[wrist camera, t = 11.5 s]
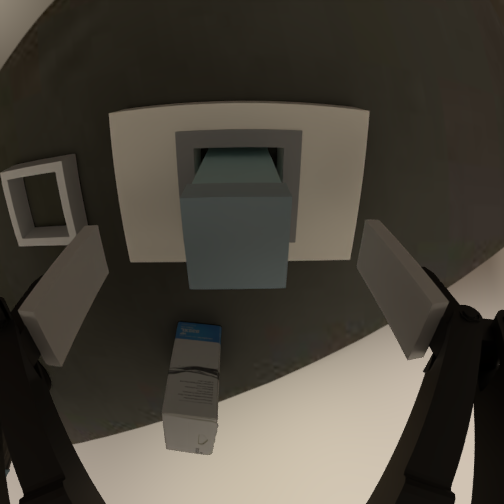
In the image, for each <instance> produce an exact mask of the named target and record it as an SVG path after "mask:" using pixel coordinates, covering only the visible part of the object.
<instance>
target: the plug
mask: <svg viewBox="0 0 504 504" xmlns="http://www.w3.org/2000/svg"><path fill="white" fill-rule="evenodd" d="M180 207H181V217H182V227H183V237H184V246H185V255H186V264H187V272H188V280H189V288H190V289H269V288H286V279H287V266H288V253H289V239H290V225H291V210H292V195H291V193H290V191H289V188H288V186H287V184H286V183H282V182H281V180H280V177H279V175H278V173H277V170H276V168H275V165H274V163H273V161H272V158H271V156H270V153H269V151H268V149H267V147H225V148H209V149H208V151H207V153H206V155H205V157H204V159H203V161H202V163H201V165H200V167H199V169H198V171H197V173H196V175H195V178H194V180H193V182H192V184H187V185H186V187H185V189H184V191H183V193H182V195H181V197H180Z"/></svg>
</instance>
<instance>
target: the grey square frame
mask: <svg viewBox="0 0 504 504" xmlns="http://www.w3.org/2000/svg"><path fill="white" fill-rule="evenodd" d="M50 172H56V178H57V183H58V188H59V193H60V198H61V203H62V208H63V212H64V216H65V221H66V225H64V226H47V227H35V226H34V223H33V219H32V215H31V211H30V207H29V203H28V199H27V194H26V190H25V185H24V180H23V177H26V176H31V175H37V174H43V173H50ZM0 175H1V180H2V185H3V189H4V194H5V198H6V202H7V206H8V210H9V214H10V217H11V221H12V225H13V228H14V231H15V235H16V238H17V241H18V244H19V246H49V245H69V243H70V242H71V241H72V240H73V239H74V238H75V236H76V235H77V234H78V233H79V232H80V231H81V230H82V228H83V227H84V226H88V222H87V218H86V213H85V208H84V203H83V198H82V192H81V187H80V181H79V175H78V169H77V162H76V155H75V154H70V155H64V156H58V157H52V158H46V159H41V160H36V161H31V162H26V163H21V164H17V165H14V166H12V167H10V168H8V169H6V170H4V171H3V172H1V173H0Z"/></svg>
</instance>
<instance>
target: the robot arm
mask: <svg viewBox="0 0 504 504" xmlns="http://www.w3.org/2000/svg"><path fill="white" fill-rule="evenodd" d="M357 269H358V271H359V272H360V274H361V276H362V278H363V279H364V281H365V283H366V284H367V286H368V288H369V290H370V291H371V293H372V295H373V297H374V298H375V300H376V302H377V304H378V306H379V307H380V309H381V311H382V313H383V315H384V316H385V318H386V320H387V322H388V324H389V326H390V327H391V329H392V331H393V333H394V335H395V337H396V339H397V341H398V342H399V344H400V346H401V348H402V350H403V352H404V354H405V356H406V358H407V360H411V359H416V358H421V357H423V356H424V355H425V353H426V351H427V349H428V347H430V348H431V350H432V352H433V354H432V356H431V358H430V360H429V361H428V363H427V365H426V367H425V369H424V371H423V372H425V376H424V379H423V382H422V384H421V387H420V390H419V393H418V396H417V398H416V401H415V404H414V406H413V409H412V411H411V414H410V417H409V419H408V421H407V424H406V426H405V428H404V431H403V433H402V436H401V438H400V440H399V442H398V445H397V447H396V449H395V451H394V453H393V455H392V457H391V460H390V461H389V463H388V465H387V467H386V469H385V471H384V473H383V475H382V477H381V479H380V481H379V482H378V484H377V486H376V488H375V490H374V492H373V493H372V495H371V497H370V498H369V500H368V502H367V503H366V504H454V502H455V494H454V493H453V492H452V491H451V486H452V482H453V479H454V476H455V473H456V470H457V467H458V464H459V461H460V457H461V454H462V450H463V446H464V443H465V438H466V434H467V431H468V427H469V422H470V418H471V413H472V408H473V403H474V422H475V457H474V458H475V459H474V478H473V490H472V501H471V504H504V310H500V311H498V313H497V314H496V316H495V319H494V320H491V319H483V318H482V316H481V315H480V313H479V312H478V311H477V310H475V309H474V308H472V307H470V306H467V305H459V303H458V302H457V301H456V300H455V298H454V297H453V296H452V295H451V294H450V292H449V291H448V290H447V288H446V287H444V285H443V284H442V282H440V280H439V279H438V278H437V276H436V275H435V274H434V273H433V272H431V271H430V270H428V269H427V268H425V267H421V266H420V265H419V264H418V263H417V262H416V261H415V259H414V258H413V257H412V256H411V255H410V254H409V253H408V251H407V250H406V249H405V248H404V247H403V246H402V245H401V243H400V242H399V241H398V240H397V239H396V238H395V237H394V236H393V235H392V234H391V232H390V231H389V230H388V229H387V228H386V227H385V226H384V225H383V224H382V223H381V222H380V221H379V220H365V224H364V230H363V235H362V241H361V246H360V251H359V257H358V262H357ZM108 273H109V271H108V267H107V263H106V259H105V255H104V250H103V246H102V242H101V237H100V233H99V228H98V225H90V226H84V227H83V228H82V230H81V231H80V232H79V233H78V234H77V235H76V236H75V238H74V239H73V240H72V241H71V242H70V243H69V245H68V246H67V247H66V248H65V249H64V250H63V252H62V253H61V254H60V255H59V257H58V258H57V259H56V260H55V261H54V263H53V264H52V265H51V266H50V268H49V269H48V270H47V272H46V273H45V274H44V275H42V276H40V277H39V278H38V279H37V280H35V281H34V282H33V283H32V284H31V286H30V287H29V288H28V291H26V292H25V294H24V295H23V297H22V298H21V299H20V300H19V302H18V303H17V305H16V306H15V307H14V309H13V310H12V312H10V310H9V308H8V306H7V304H6V302H5V300H4V298H2V297H0V504H10V500H9V495H8V488H7V482H6V476H7V474H8V472H9V471H10V469H9V467H10V464H11V461H12V463H13V465H14V468H15V471H16V474H17V477H18V480H19V482H20V485H21V487H22V490H23V493H24V497H22V498H21V499H20V500H19V504H106V503H105V502H104V500H103V499H102V497H101V495H100V494H99V492H98V491H97V489H96V487H95V486H94V484H93V482H92V481H91V479H90V477H89V475H88V473H87V472H86V470H85V468H84V466H83V464H82V463H81V461H80V459H79V457H78V455H77V453H76V451H75V449H74V447H73V445H72V443H71V441H70V439H69V437H68V435H67V433H66V430H65V428H64V426H63V424H62V421H61V419H60V417H59V414H58V412H57V410H56V407H55V405H54V402H53V400H52V397H51V395H50V392H49V390H50V388H51V382H50V379H49V376H48V374H47V373H46V371H45V370H44V368H43V367H42V366H41V365H40V363H39V362H38V359H39V357H40V355H41V356H42V358H43V359H44V361H45V363H46V364H47V365H52V366H58V367H62V365H63V363H64V361H65V359H66V356H67V354H68V352H69V350H70V348H71V345H72V343H73V341H74V339H75V337H76V335H77V333H78V331H79V329H80V327H81V325H82V323H83V320H84V318H85V316H86V315H87V313H88V311H89V309H90V307H91V305H92V303H93V301H94V299H95V297H96V295H97V293H98V291H99V290H100V288H101V286H102V284H103V282H104V280H105V279H106V277H107V275H108Z"/></svg>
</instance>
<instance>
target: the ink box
mask: <svg viewBox="0 0 504 504" xmlns="http://www.w3.org/2000/svg"><path fill="white" fill-rule="evenodd" d="M221 330H222V328H221V326H216V325H207V324H196V323H187V322H178V326H177V331H176V336H175V341H174V346H173V352H172V357H171V362H170V368H169V373H168V379H167V384H166V390H165V396H164V402H163V408H162V418H163V427H164V435H165V443H166V449H169V450H176V451H182V452H189V453H196V454H203V455H210V454H212V451H213V447H214V446H213V445H214V442H215V436H216V433H217V428H218V424H217V420H218V393H219V371H220V347H221Z"/></svg>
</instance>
